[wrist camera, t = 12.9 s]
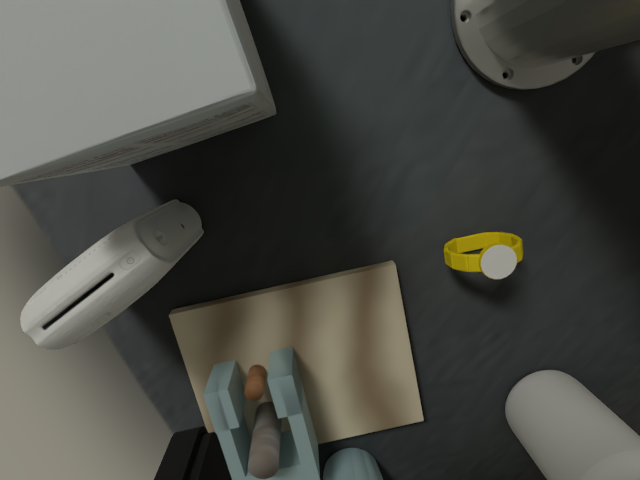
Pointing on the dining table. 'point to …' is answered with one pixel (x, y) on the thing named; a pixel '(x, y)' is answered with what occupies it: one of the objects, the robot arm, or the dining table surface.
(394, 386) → the board
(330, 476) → the cup
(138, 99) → the supplement box
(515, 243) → the watch
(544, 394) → the pill bottle
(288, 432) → the u-shaped channel block
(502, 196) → the dining table surface
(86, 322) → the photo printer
